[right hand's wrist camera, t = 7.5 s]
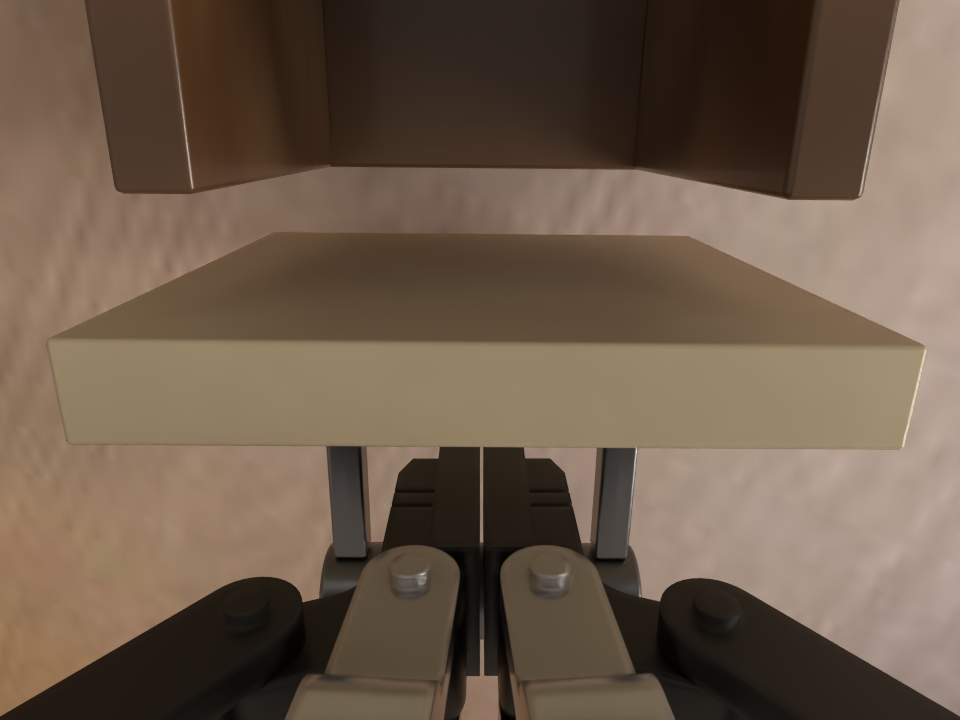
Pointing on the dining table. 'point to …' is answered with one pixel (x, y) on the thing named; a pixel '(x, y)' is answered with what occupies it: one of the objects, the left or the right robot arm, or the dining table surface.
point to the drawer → (488, 239)
